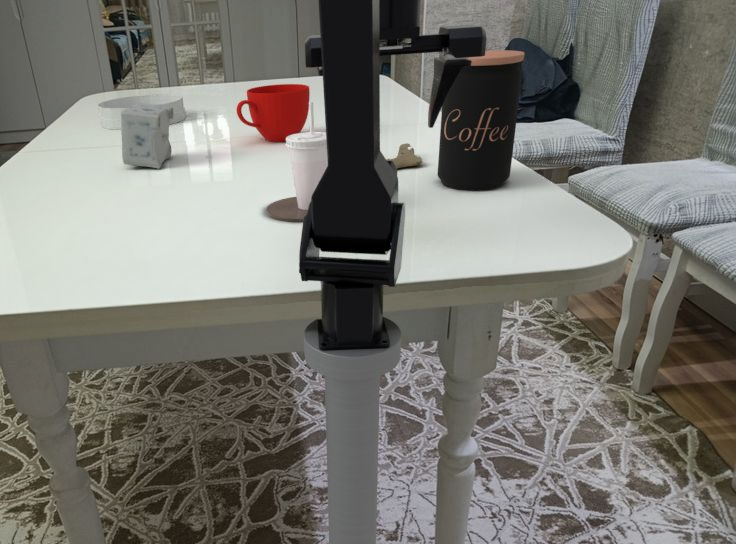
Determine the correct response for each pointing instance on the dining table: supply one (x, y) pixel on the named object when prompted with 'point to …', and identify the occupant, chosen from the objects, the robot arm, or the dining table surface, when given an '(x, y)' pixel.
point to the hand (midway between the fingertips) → (389, 129)
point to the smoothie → (307, 161)
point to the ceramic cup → (277, 110)
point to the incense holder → (146, 135)
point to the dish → (113, 108)
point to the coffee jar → (480, 122)
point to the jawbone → (406, 157)
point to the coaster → (286, 210)
